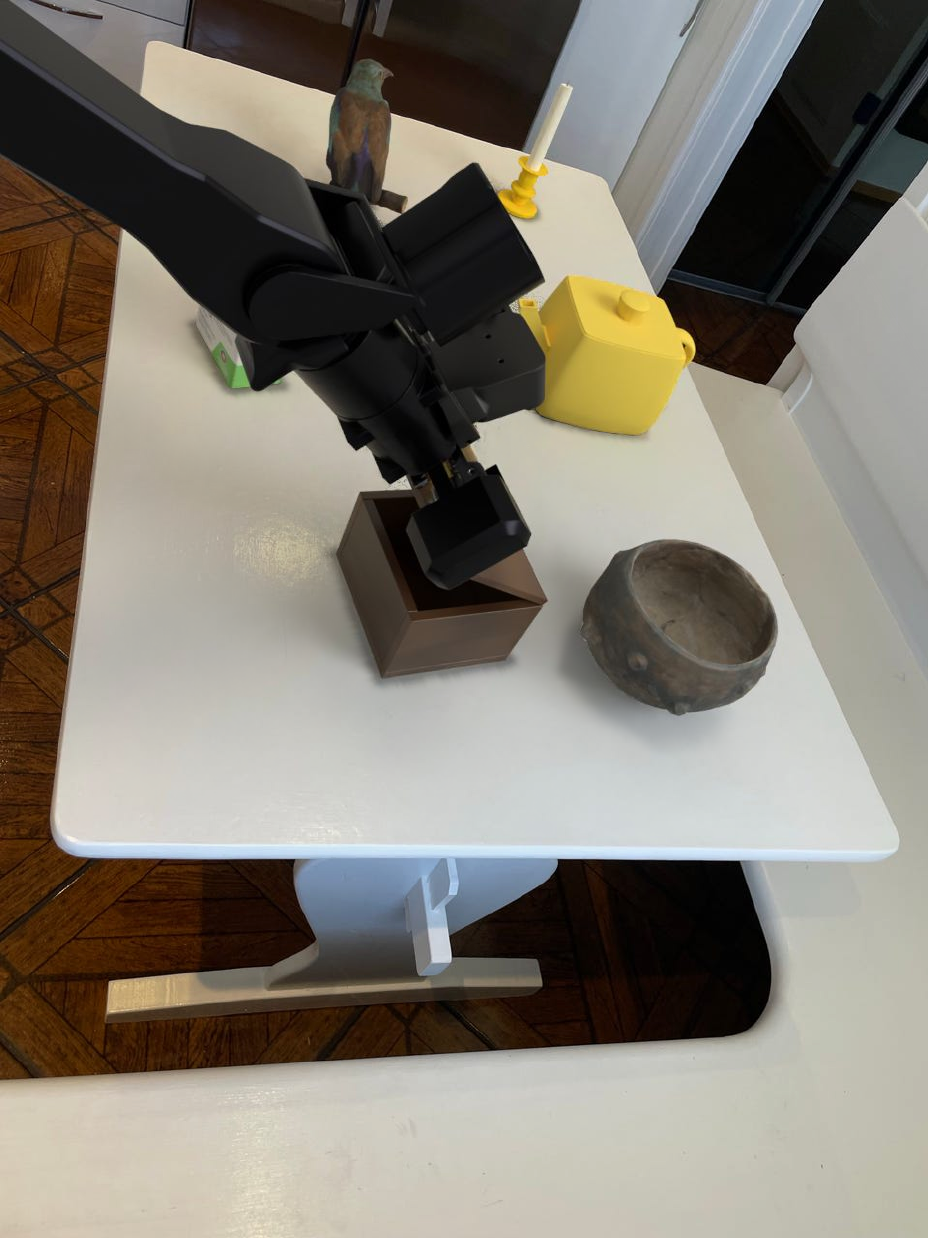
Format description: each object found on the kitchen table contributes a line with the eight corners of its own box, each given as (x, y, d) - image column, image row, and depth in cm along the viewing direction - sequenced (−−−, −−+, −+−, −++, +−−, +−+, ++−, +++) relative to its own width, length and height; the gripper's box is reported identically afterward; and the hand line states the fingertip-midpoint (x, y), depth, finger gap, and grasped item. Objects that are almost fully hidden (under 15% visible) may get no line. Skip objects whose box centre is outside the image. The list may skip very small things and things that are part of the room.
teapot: (494, 414, 90) (544, 314, 81) (477, 332, 97) (521, 232, 88) (670, 448, 97) (734, 360, 88) (643, 369, 104) (699, 280, 95)
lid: (446, 571, 58) (498, 529, 56) (388, 436, 63) (433, 394, 61) (542, 605, 67) (590, 570, 65) (484, 484, 72) (526, 449, 70)
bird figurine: (399, 278, 96) (447, 64, 89) (304, 252, 93) (347, 29, 86) (383, 271, 108) (424, 82, 101) (298, 248, 105) (335, 52, 98)
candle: (491, 189, 116) (542, 62, 104) (527, 196, 118) (581, 72, 106) (504, 215, 113) (557, 87, 101) (540, 221, 115) (597, 97, 104)
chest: (381, 679, 67) (411, 622, 62) (335, 553, 73) (359, 490, 67) (505, 660, 72) (543, 606, 67) (453, 544, 78) (485, 485, 72)
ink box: (281, 385, 82) (311, 271, 73) (228, 390, 79) (251, 272, 70) (245, 320, 85) (269, 204, 76) (192, 322, 82) (211, 202, 73)
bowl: (748, 724, 77) (824, 659, 70) (602, 761, 70) (670, 693, 62) (669, 590, 84) (731, 518, 76) (527, 611, 76) (581, 533, 69)
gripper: (573, 419, 44) (643, 549, 57) (438, 181, 52) (527, 343, 66) (374, 536, 46) (487, 635, 59) (276, 290, 54) (394, 425, 68)
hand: (476, 500), depth 63 cm, fingers closed on lid, 5 cm apart
